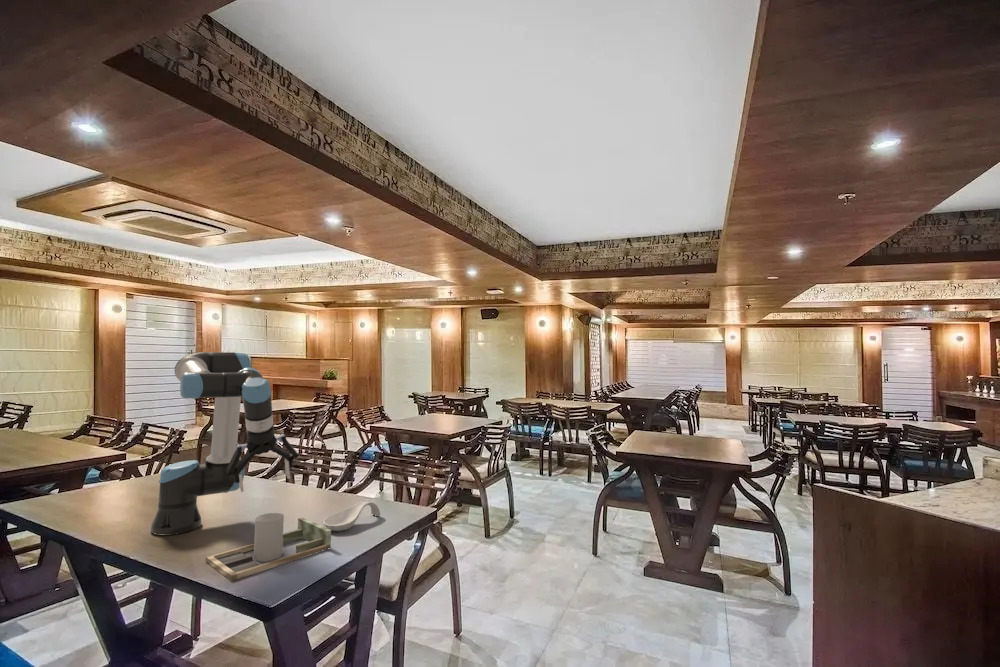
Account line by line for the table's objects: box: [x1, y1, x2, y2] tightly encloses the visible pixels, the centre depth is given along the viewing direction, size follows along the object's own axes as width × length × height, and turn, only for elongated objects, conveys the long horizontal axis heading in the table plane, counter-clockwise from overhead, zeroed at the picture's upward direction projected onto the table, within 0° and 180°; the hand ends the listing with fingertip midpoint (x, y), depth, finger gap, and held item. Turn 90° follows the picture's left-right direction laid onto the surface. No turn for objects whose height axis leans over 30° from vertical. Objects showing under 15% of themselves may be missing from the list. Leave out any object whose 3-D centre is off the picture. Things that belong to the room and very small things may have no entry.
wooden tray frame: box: [205, 516, 332, 582], centre depth 150 cm, size 19×30×6 cm, turn 140°
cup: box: [253, 512, 285, 562], centre depth 150 cm, size 8×8×12 cm
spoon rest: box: [322, 500, 381, 532], centre depth 179 cm, size 24×12×7 cm, turn 149°
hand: (265, 482), depth 152 cm, fingers open, 13 cm apart
